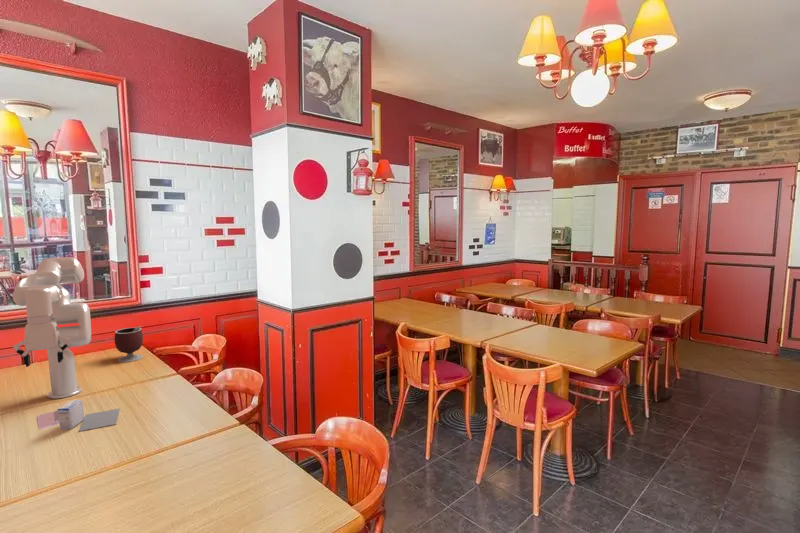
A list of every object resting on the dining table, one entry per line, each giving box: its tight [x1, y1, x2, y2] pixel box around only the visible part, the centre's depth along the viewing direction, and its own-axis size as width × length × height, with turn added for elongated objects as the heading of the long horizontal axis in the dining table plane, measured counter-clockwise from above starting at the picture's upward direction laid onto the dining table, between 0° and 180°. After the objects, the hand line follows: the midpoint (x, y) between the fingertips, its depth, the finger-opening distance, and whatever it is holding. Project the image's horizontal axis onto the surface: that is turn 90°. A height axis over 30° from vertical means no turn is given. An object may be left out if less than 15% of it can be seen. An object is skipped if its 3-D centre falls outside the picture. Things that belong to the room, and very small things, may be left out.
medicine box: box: [57, 399, 85, 431], centre depth 170 cm, size 8×4×9 cm, turn 5°
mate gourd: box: [114, 325, 144, 363], centre depth 250 cm, size 16×14×20 cm
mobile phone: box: [37, 410, 60, 430], centre depth 176 cm, size 8×1×15 cm
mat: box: [78, 408, 121, 433], centre depth 175 cm, size 16×12×1 cm
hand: (44, 363), depth 166 cm, fingers open, 9 cm apart
